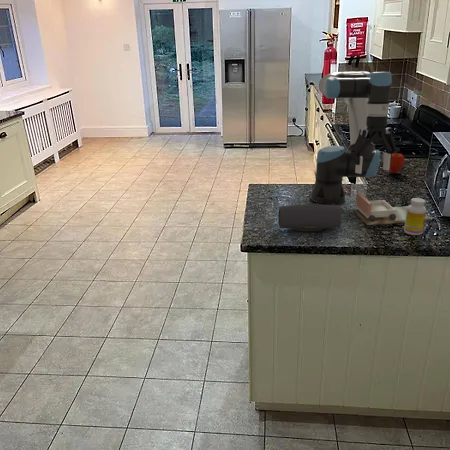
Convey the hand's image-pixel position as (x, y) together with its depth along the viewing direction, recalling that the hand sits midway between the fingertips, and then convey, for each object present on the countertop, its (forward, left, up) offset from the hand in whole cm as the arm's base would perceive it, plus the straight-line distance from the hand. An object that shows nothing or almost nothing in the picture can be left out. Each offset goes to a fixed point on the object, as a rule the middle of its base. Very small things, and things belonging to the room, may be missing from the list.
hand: (372, 171), depth 174 cm
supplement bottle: (+11, -16, -20) cm, 28 cm away
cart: (+3, 0, -18) cm, 18 cm away
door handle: (+46, +74, -20) cm, 89 cm away
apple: (+37, +55, -20) cm, 69 cm away
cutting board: (+10, 0, -19) cm, 22 cm away
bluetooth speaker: (-27, -8, -20) cm, 34 cm away
